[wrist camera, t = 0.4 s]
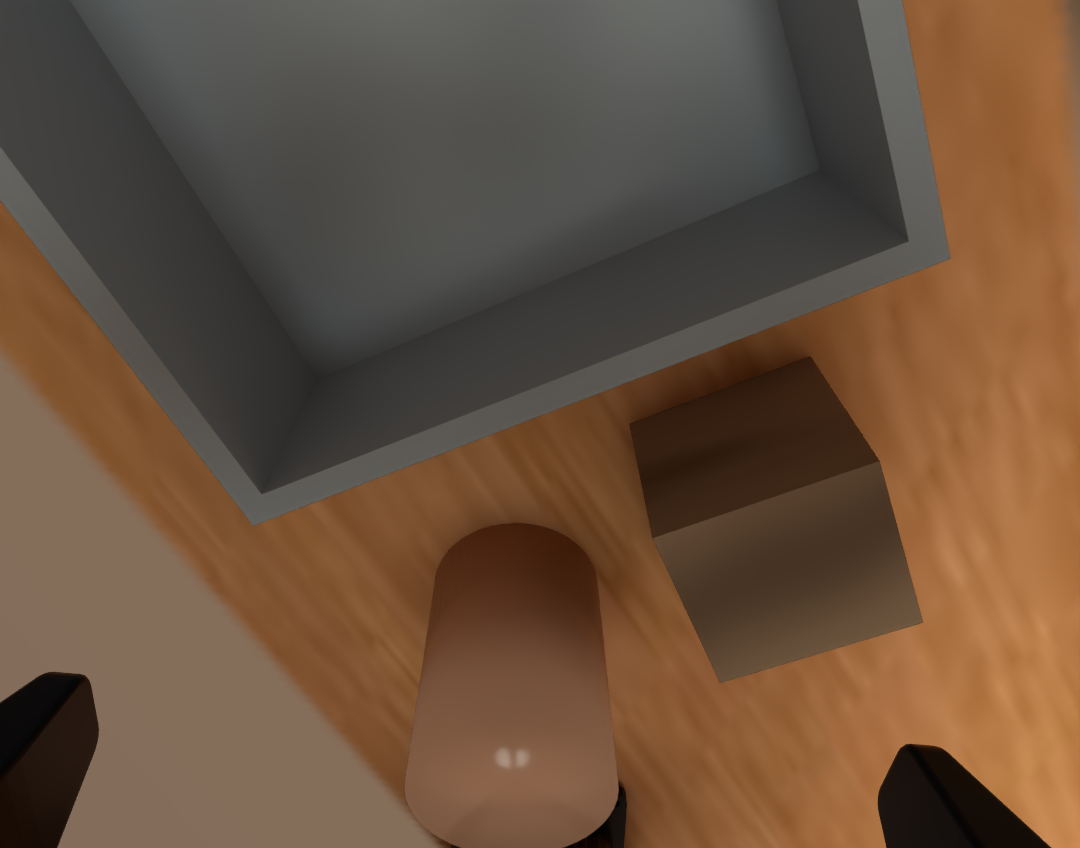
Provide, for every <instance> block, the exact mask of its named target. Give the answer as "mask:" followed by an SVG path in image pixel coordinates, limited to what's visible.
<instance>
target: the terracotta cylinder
mask: <svg viewBox="0 0 1080 848" xmlns="http://www.w3.org/2000/svg"><path fill="white" fill-rule="evenodd" d="M618 792H619V788H618V775H617V765H616V756H615V746H614V736H613V727H612V717H611V707H610V698H609V688H608V678H607V669H606V659H605V649H604V640H603V630H602V620H601V611H600V601H599V591H598V582H597V576H596V572H595V569H594V566H593V564H592V562H591V561H590V559H589V557H588V556H587V554H586V553H585V552H584V551H583V550H582V549H581V548H580V547H579V546H578V545H577V544H576V543H575V542H573V541H572V540H570V539H569V538H567V537H566V536H564V535H562V534H560V533H558V532H556V531H553V530H550V529H548V528H544V527H540V526H536V525H529V524H502V525H496V526H491V527H487V528H484V529H481V530H478V531H476V532H474V533H471V534H470V535H468V536H466V537H464V538H463V539H461V540H460V541H459V542H457V543H456V544H455V545H454V546H453V547H452V548H451V549H450V550H449V551H448V552H447V553H446V554H445V556H444V557H443V559H442V561H441V562H440V564H439V566H438V569H437V572H436V577H435V584H434V590H433V597H432V604H431V611H430V617H429V624H428V631H427V638H426V644H425V651H424V658H423V665H422V671H421V678H420V685H419V691H418V698H417V705H416V712H415V718H414V725H413V732H412V739H411V745H410V752H409V759H408V766H407V772H406V779H405V797H406V800H407V804H408V806H409V808H410V810H411V812H412V813H413V815H414V816H415V818H416V819H417V820H418V821H419V822H420V823H421V824H422V825H423V826H424V827H425V828H426V829H427V830H428V831H430V832H431V833H432V834H434V835H436V836H437V837H439V838H440V839H442V840H444V841H446V842H448V843H450V844H453V845H455V846H458V847H461V848H563V847H566V846H569V845H571V844H573V843H576V842H578V841H580V840H581V839H583V838H585V837H587V836H588V835H590V834H591V833H593V832H594V831H595V830H597V829H598V828H599V827H600V826H601V825H602V824H603V823H604V822H605V821H606V820H607V818H608V817H609V816H610V814H611V812H612V811H613V809H614V807H615V804H616V802H617V798H618Z"/></svg>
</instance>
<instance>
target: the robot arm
mask: <svg viewBox="0 0 1080 848" xmlns="http://www.w3.org/2000/svg"><path fill="white" fill-rule="evenodd" d="M98 732H99V728H98V720H97V715H96V710H95V704H94V699H93V693H92V688H91V684H90V681H89V679H88V678H87V677H86V676H85V675H82V674H72V673H61V672H48V673H45V674H42V675H40V676H38V677H37V678H35V679H34V680H32V681H31V682H29V683H28V684H26V685H25V686H23V687H22V688H21V689H19V690H18V691H16V692H15V693H13V694H12V695H10V696H9V697H8V698H6V699H5V700H3V701H2V702H0V848H57V847H58V844H59V842H60V839H61V837H62V834H63V832H64V829H65V827H66V824H67V821H68V818H69V816H70V814H71V811H72V808H73V805H74V803H75V801H76V798H77V796H78V793H79V790H80V788H81V785H82V782H83V780H84V778H85V775H86V772H87V770H88V767H89V765H90V762H91V760H92V757H93V754H94V752H95V749H96V745H97V741H98V734H99V733H98ZM618 788H619V792H618V798H617V802H616V804H615V807H614V809H613V811H612V812H611V814H610V816H609V817H608V818H607V820H606V821H605V822H604V823H603V824H602V825H601V826H600V827H599V828H598V829H597V830H595V831H594V832H593V833H591V834H590V835H588V836H587V837H585V838H583V839H581V840H580V841H578V842H576V843H573V844H571V845H569V846H566V847H563V848H624V837H625V823H626V808H627V800H626V793H625V790H624V789H623V788H622V787H620V786H618ZM878 810H879V816H880V820H881V825H882V829H883V834H884V838H885V843H886V847H887V848H1051V847H1050V846H1049V845H1048V844H1047V843H1046V842H1044V841H1043V840H1042V839H1041V838H1040V837H1039V836H1038V835H1037V834H1036V833H1035V832H1034V831H1033V830H1031V829H1030V828H1029V827H1028V826H1027V825H1026V824H1025V823H1024V822H1023V821H1022V820H1021V819H1019V818H1018V817H1017V816H1016V815H1015V814H1014V813H1013V812H1012V811H1011V810H1010V809H1009V808H1008V807H1006V806H1005V805H1004V804H1003V803H1002V802H1001V801H1000V800H999V799H998V798H997V797H996V796H995V795H993V794H992V793H991V792H990V791H989V790H988V789H987V788H986V787H985V786H984V785H983V784H981V783H980V782H979V781H978V780H977V779H976V778H975V777H974V776H973V775H972V774H971V773H970V772H968V771H967V770H966V769H965V768H964V767H963V766H962V765H961V764H960V763H959V762H958V761H957V760H955V759H954V758H953V757H952V756H951V755H950V754H949V753H948V752H946V751H945V750H943V749H942V748H940V747H937V746H929V745H917V744H906V745H904V746H903V747H902V748H900V750H899V751H898V753H897V755H896V757H895V759H894V761H893V763H892V765H891V767H890V769H889V771H888V773H887V775H886V777H885V779H884V781H883V783H882V785H881V787H880V790H879V795H878ZM451 848H461V847H458V846H455V845H453V844H451Z"/></svg>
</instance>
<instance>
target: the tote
mask: <svg viewBox="0 0 1080 848" xmlns="http://www.w3.org/2000/svg"><path fill="white" fill-rule="evenodd" d="M0 201H1V202H2V203H3V204H4V206H5V207H6V208H7V210H8V211H9V212H10V213H11V215H12V216H13V217H14V219H15V220H16V221H17V222H18V224H19V225H20V226H21V228H22V229H23V230H24V231H25V233H26V234H27V235H28V237H29V238H30V239H31V240H32V242H33V243H34V244H35V246H36V247H37V248H38V249H39V251H40V252H41V253H42V255H43V256H44V257H45V258H46V260H47V261H48V262H49V264H50V265H51V266H52V267H53V269H54V270H55V271H56V273H57V274H58V275H59V276H60V278H61V279H62V280H63V282H64V283H65V284H66V285H67V287H68V288H69V289H70V291H71V292H72V293H73V294H74V296H75V297H76V298H77V300H78V301H79V302H80V303H81V305H82V306H83V307H84V309H85V310H86V311H87V312H88V314H89V315H90V316H91V318H92V319H93V320H94V321H95V323H96V324H97V325H98V327H99V328H100V329H101V330H102V332H103V333H104V334H105V336H106V337H107V338H108V339H109V341H110V342H111V343H112V345H113V346H114V347H115V348H116V350H117V351H118V352H119V354H120V355H121V356H122V358H123V359H124V360H125V361H126V363H127V364H128V365H129V367H130V368H131V369H132V370H133V372H134V373H135V374H136V376H137V377H138V378H139V379H140V381H141V382H142V383H143V385H144V386H145V387H146V388H147V390H148V391H149V392H150V394H151V395H152V396H153V397H154V399H155V400H156V401H157V403H158V404H159V405H160V406H161V408H162V409H163V410H164V412H165V413H166V414H167V415H168V417H169V418H170V419H171V421H172V422H173V423H174V424H175V426H176V427H177V428H178V430H179V431H180V432H181V433H182V435H183V436H184V437H185V439H186V440H187V441H188V442H189V444H190V445H191V446H192V448H193V449H194V450H195V451H196V453H197V454H198V455H199V457H200V458H201V459H202V460H203V462H204V463H205V464H206V466H207V467H208V468H209V469H210V471H211V472H212V473H213V475H214V476H215V477H216V478H217V480H218V481H219V482H220V484H221V485H222V486H223V487H224V489H225V490H226V491H227V493H228V494H229V495H230V496H231V498H232V499H233V500H234V502H235V503H236V504H237V505H238V507H239V508H240V509H241V511H242V512H243V513H244V514H245V516H246V517H247V518H248V520H249V521H250V522H251V523H252V525H253V526H254V525H257V524H259V523H262V522H265V521H267V520H270V519H272V518H275V517H278V516H280V515H283V514H285V513H288V512H291V511H293V510H296V509H298V508H301V507H304V506H306V505H309V504H311V503H314V502H317V501H319V500H322V499H325V498H327V497H330V496H332V495H335V494H338V493H340V492H343V491H345V490H348V489H351V488H353V487H356V486H358V485H361V484H364V483H366V482H369V481H371V480H374V479H377V478H379V477H382V476H385V475H387V474H390V473H392V472H395V471H398V470H400V469H403V468H405V467H408V466H411V465H413V464H416V463H418V462H421V461H424V460H426V459H429V458H432V457H434V456H437V455H439V454H442V453H445V452H447V451H450V450H452V449H455V448H458V447H460V446H463V445H465V444H468V443H471V442H473V441H476V440H478V439H481V438H484V437H486V436H489V435H492V434H494V433H497V432H499V431H502V430H505V429H507V428H510V427H512V426H515V425H518V424H520V423H523V422H525V421H528V420H531V419H533V418H536V417H538V416H541V415H544V414H546V413H549V412H552V411H554V410H557V409H559V408H562V407H565V406H567V405H570V404H572V403H575V402H578V401H580V400H583V399H585V398H588V397H591V396H593V395H596V394H599V393H601V392H604V391H606V390H609V389H612V388H614V387H617V386H619V385H622V384H625V383H627V382H630V381H632V380H635V379H638V378H640V377H643V376H645V375H648V374H651V373H653V372H656V371H659V370H661V369H664V368H666V367H669V366H672V365H674V364H677V363H679V362H682V361H685V360H687V359H690V358H692V357H695V356H698V355H700V354H703V353H705V352H708V351H711V350H713V349H716V348H719V347H721V346H724V345H726V344H729V343H732V342H734V341H737V340H739V339H742V338H745V337H747V336H750V335H752V334H755V333H758V332H760V331H763V330H766V329H768V328H771V327H773V326H776V325H779V324H781V323H784V322H786V321H789V320H792V319H794V318H797V317H799V316H802V315H805V314H807V313H810V312H812V311H815V310H818V309H820V308H823V307H826V306H828V305H831V304H833V303H836V302H839V301H841V300H844V299H846V298H849V297H852V296H854V295H857V294H859V293H862V292H865V291H867V290H870V289H872V288H875V287H878V286H880V285H883V284H886V283H888V282H891V281H893V280H896V279H899V278H901V277H904V276H906V275H909V274H912V273H914V272H917V271H919V270H922V269H925V268H927V267H930V266H933V265H935V264H938V263H940V262H943V261H946V260H948V259H950V254H949V248H948V243H947V238H946V232H945V227H944V222H943V216H942V211H941V206H940V200H939V195H938V190H937V185H936V179H935V174H934V169H933V163H932V158H931V153H930V147H929V142H928V137H927V131H926V126H925V121H924V115H923V110H922V105H921V99H920V94H919V89H918V83H917V78H916V73H915V67H914V62H913V57H912V51H911V46H910V41H909V35H908V30H907V25H906V19H905V14H904V9H903V4H902V0H0Z"/></svg>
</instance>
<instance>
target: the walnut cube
mask: <svg viewBox="0 0 1080 848" xmlns="http://www.w3.org/2000/svg"><path fill="white" fill-rule="evenodd" d="M630 429H631V434H632V439H633V444H634V449H635V454H636V459H637V464H638V469H639V474H640V479H641V484H642V489H643V494H644V499H645V504H646V509H647V514H648V519H649V524H650V529H651V534H652V538H653V541H654V543H655V545H656V547H657V549H658V551H659V553H660V556H661V558H662V560H663V562H664V564H665V566H666V568H667V570H668V573H669V575H670V577H671V579H672V581H673V583H674V585H675V588H676V590H677V592H678V594H679V596H680V598H681V600H682V603H683V605H684V607H685V609H686V611H687V613H688V615H689V617H690V620H691V622H692V624H693V626H694V628H695V630H696V632H697V635H698V637H699V639H700V641H701V643H702V645H703V647H704V650H705V652H706V654H707V656H708V658H709V660H710V662H711V664H712V667H713V669H714V671H715V673H716V675H717V677H718V679H719V682H720V683H722V682H726V681H729V680H732V679H736V678H739V677H742V676H746V675H749V674H752V673H756V672H759V671H763V670H766V669H769V668H773V667H776V666H779V665H783V664H786V663H789V662H793V661H796V660H799V659H803V658H806V657H810V656H813V655H816V654H820V653H823V652H826V651H830V650H833V649H836V648H840V647H843V646H846V645H850V644H853V643H856V642H860V641H863V640H867V639H870V638H873V637H877V636H880V635H883V634H887V633H890V632H893V631H897V630H900V629H903V628H907V627H910V626H913V625H917V624H920V623H923V620H922V616H921V613H920V609H919V605H918V602H917V598H916V594H915V590H914V587H913V583H912V579H911V576H910V572H909V568H908V565H907V561H906V557H905V553H904V550H903V546H902V542H901V539H900V535H899V531H898V527H897V524H896V520H895V516H894V513H893V509H892V505H891V502H890V498H889V494H888V490H887V487H886V483H885V479H884V476H883V472H882V468H881V464H880V461H879V459H878V458H877V456H876V455H875V453H874V452H873V450H872V449H871V447H870V446H869V444H868V443H867V441H866V440H865V438H864V437H863V435H862V434H861V432H860V431H859V429H858V428H857V426H856V425H855V423H854V422H853V420H852V419H851V417H850V416H849V414H848V413H847V411H846V409H845V408H844V406H843V405H842V403H841V402H840V400H839V399H838V397H837V396H836V394H835V393H834V391H833V390H832V388H831V387H830V385H829V384H828V382H827V381H826V379H825V378H824V376H823V375H822V373H821V372H820V370H819V369H818V367H817V366H816V364H815V363H814V361H813V360H812V358H811V357H808V358H805V359H802V360H800V361H797V362H794V363H791V364H789V365H786V366H783V367H781V368H778V369H775V370H773V371H770V372H767V373H765V374H762V375H759V376H757V377H754V378H751V379H749V380H746V381H743V382H740V383H738V384H735V385H732V386H730V387H727V388H724V389H722V390H719V391H716V392H714V393H711V394H708V395H706V396H703V397H700V398H698V399H695V400H692V401H690V402H687V403H684V404H681V405H679V406H676V407H673V408H671V409H668V410H665V411H663V412H660V413H657V414H655V415H652V416H649V417H647V418H644V419H641V420H639V421H636V422H633V423H631V424H630Z"/></svg>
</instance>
